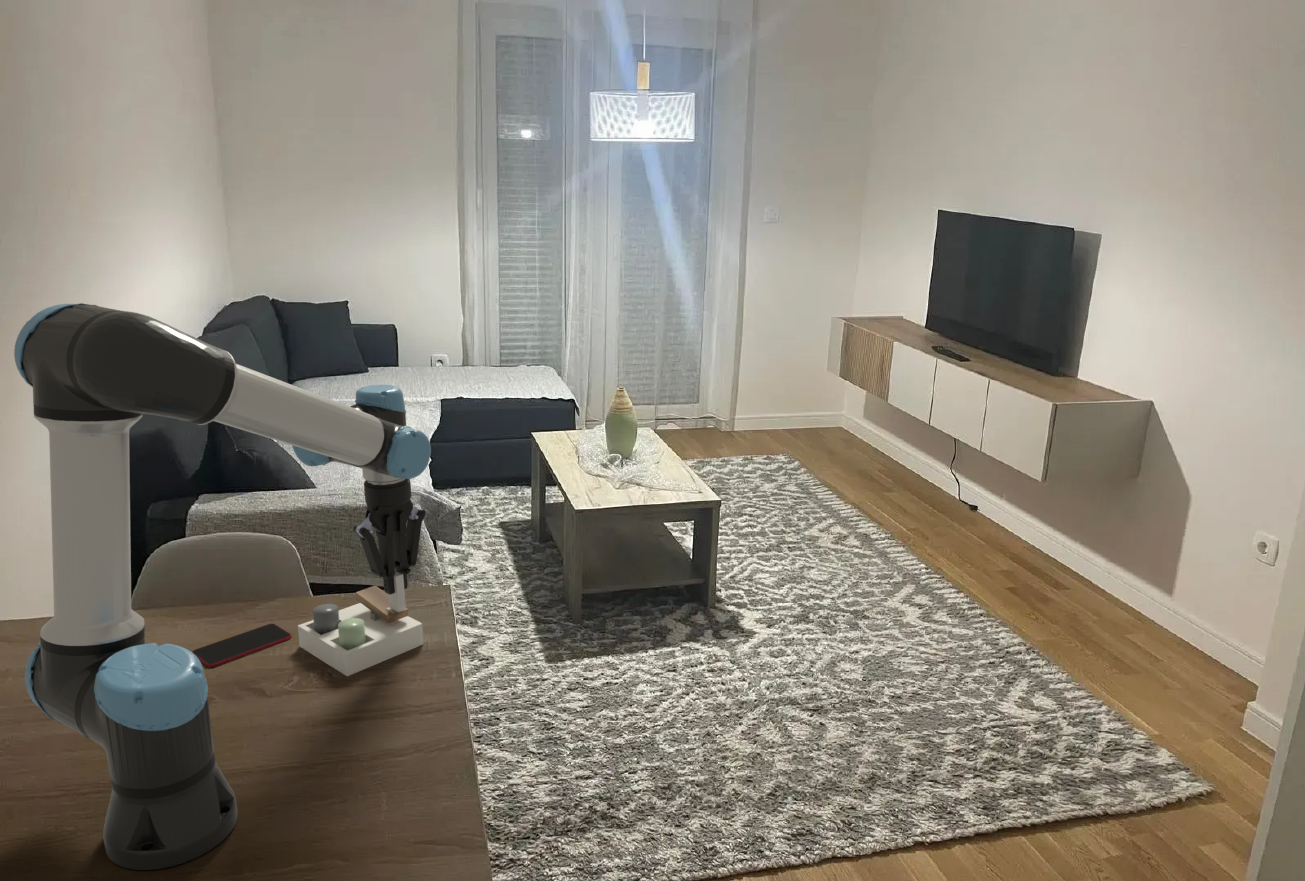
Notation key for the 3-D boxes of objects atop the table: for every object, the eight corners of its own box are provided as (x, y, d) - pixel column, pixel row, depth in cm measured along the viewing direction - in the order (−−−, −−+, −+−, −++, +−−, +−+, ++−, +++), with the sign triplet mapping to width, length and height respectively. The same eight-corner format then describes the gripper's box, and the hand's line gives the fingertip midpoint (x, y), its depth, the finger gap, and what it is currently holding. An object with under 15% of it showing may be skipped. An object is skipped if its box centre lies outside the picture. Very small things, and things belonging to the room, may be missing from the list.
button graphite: (322, 637, 167) (320, 617, 166) (309, 630, 169) (307, 609, 168) (344, 629, 170) (343, 608, 169) (331, 621, 172) (329, 601, 171)
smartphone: (293, 635, 173) (209, 665, 162) (293, 639, 173) (209, 670, 163) (272, 622, 178) (189, 651, 167) (273, 626, 178) (190, 656, 167)
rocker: (388, 623, 168) (388, 615, 167) (355, 599, 174) (355, 591, 173) (408, 615, 171) (408, 608, 170) (375, 592, 177) (375, 584, 176)
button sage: (348, 653, 162) (346, 632, 160) (334, 645, 164) (332, 624, 163) (370, 644, 165) (369, 623, 163) (356, 636, 167) (355, 615, 166)
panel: (347, 676, 161) (344, 647, 159) (299, 646, 170) (297, 618, 169) (423, 644, 171) (421, 616, 170) (374, 617, 181) (372, 591, 179)
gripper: (364, 492, 156) (377, 628, 162) (432, 473, 165) (442, 602, 171) (339, 483, 160) (352, 614, 167) (406, 464, 170) (416, 590, 176)
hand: (397, 608), depth 169 cm, fingers closed
